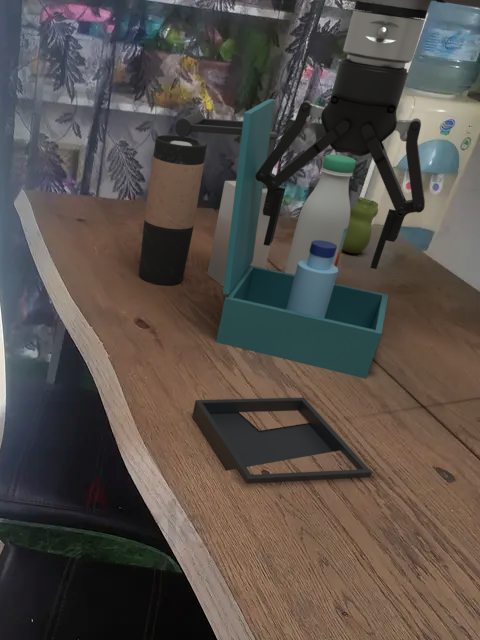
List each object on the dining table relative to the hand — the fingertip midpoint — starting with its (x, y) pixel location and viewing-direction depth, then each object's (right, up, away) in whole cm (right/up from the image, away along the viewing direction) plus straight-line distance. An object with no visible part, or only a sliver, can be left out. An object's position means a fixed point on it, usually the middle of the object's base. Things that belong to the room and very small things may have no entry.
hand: (320, 254), depth 94 cm
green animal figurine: (+20, +16, +46) cm, 52 cm away
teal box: (-1, -10, +7) cm, 12 cm away
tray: (-10, -27, -17) cm, 33 cm away
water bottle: (-1, -9, +7) cm, 11 cm away
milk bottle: (+5, +3, +26) cm, 26 cm away
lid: (-9, +7, -1) cm, 11 cm away
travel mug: (-18, +4, +24) cm, 30 cm away
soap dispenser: (-7, +5, +27) cm, 28 cm away
